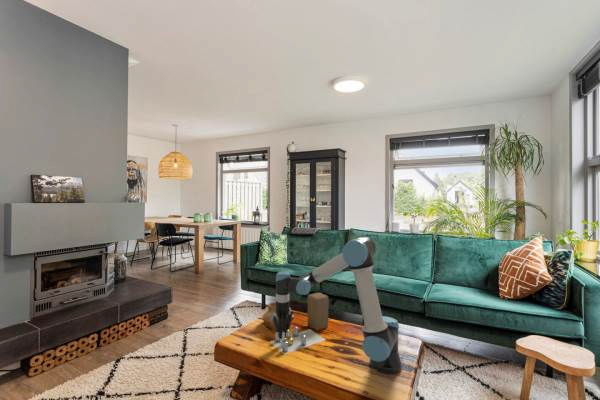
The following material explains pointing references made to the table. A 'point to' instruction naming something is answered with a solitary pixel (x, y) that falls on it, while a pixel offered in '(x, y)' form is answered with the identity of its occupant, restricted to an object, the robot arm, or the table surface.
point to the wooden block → (317, 311)
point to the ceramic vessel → (268, 319)
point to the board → (310, 340)
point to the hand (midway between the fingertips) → (282, 343)
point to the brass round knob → (290, 340)
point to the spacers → (285, 342)
